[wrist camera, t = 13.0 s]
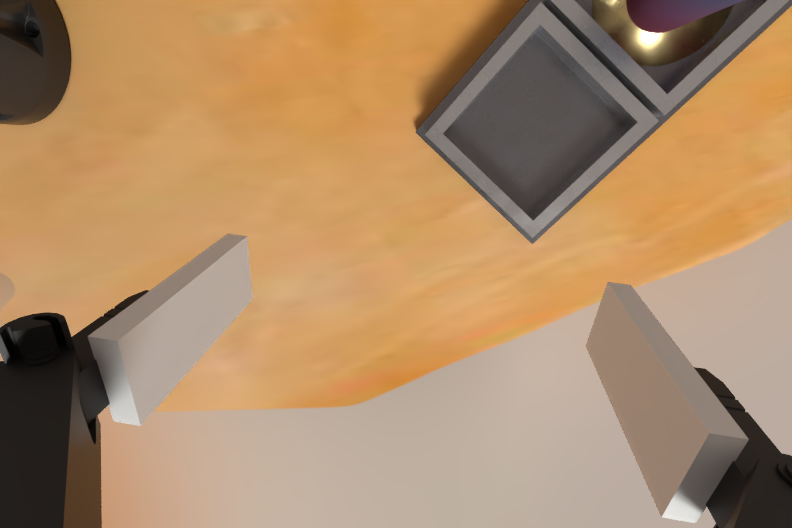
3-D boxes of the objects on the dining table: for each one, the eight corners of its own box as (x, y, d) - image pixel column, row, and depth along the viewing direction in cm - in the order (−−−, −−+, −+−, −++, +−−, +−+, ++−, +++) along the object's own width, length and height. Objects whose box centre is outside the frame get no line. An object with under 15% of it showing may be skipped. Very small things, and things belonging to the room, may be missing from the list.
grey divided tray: (416, 132, 36) (411, 130, 33) (661, -151, 29) (685, -190, 25) (530, 241, 37) (536, 250, 34) (797, -6, 30) (839, -25, 26)
